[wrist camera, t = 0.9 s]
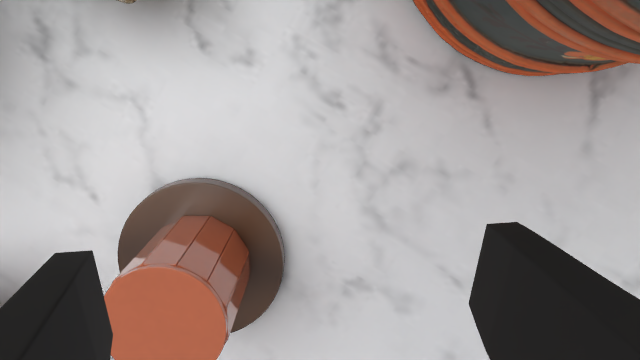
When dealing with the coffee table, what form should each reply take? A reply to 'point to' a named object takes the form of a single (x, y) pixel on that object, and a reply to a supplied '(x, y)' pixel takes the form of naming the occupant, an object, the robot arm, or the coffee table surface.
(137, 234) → the brown peg stand
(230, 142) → the coffee table surface
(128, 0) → the stone
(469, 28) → the tankard
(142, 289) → the orange cylinder
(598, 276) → the robot arm
